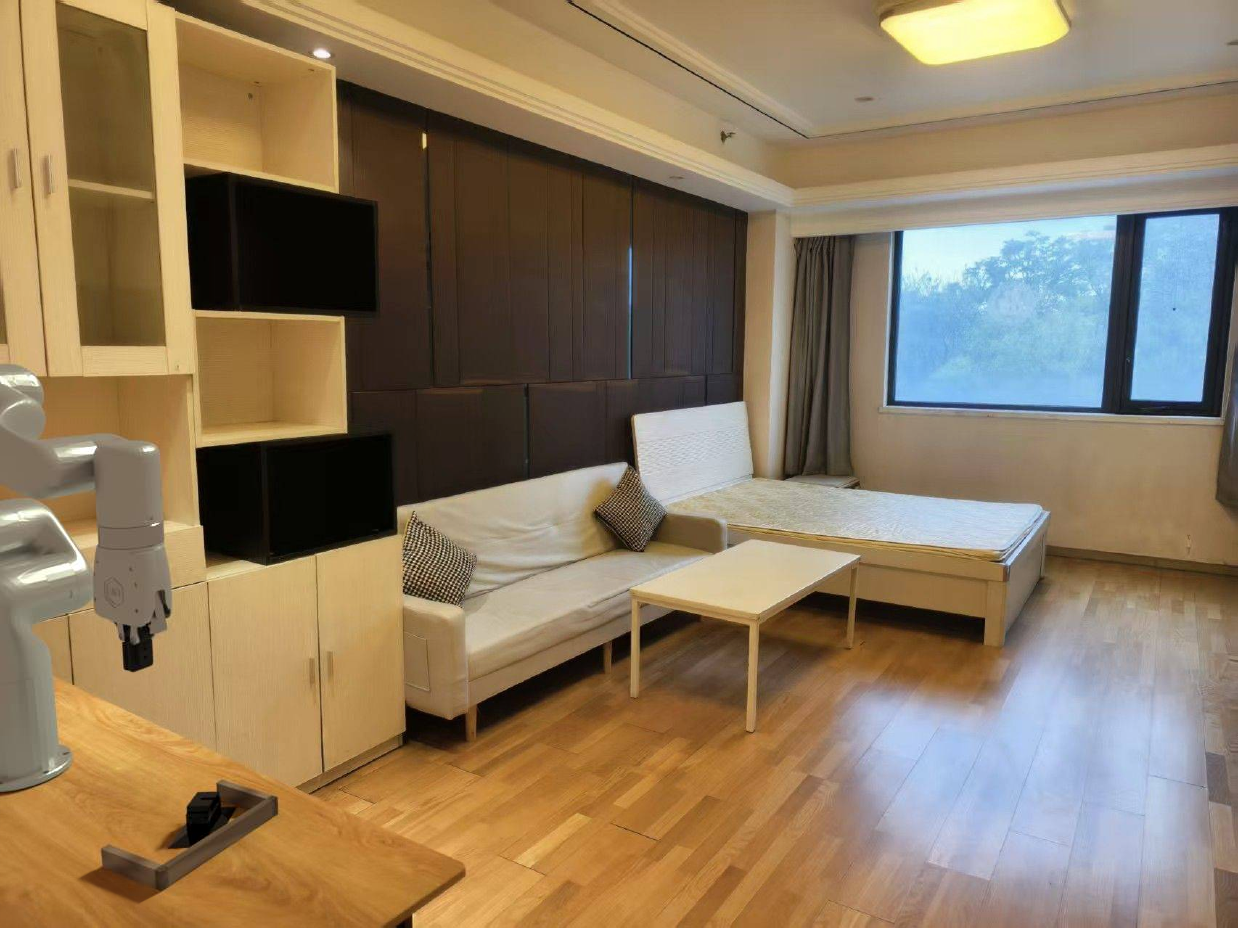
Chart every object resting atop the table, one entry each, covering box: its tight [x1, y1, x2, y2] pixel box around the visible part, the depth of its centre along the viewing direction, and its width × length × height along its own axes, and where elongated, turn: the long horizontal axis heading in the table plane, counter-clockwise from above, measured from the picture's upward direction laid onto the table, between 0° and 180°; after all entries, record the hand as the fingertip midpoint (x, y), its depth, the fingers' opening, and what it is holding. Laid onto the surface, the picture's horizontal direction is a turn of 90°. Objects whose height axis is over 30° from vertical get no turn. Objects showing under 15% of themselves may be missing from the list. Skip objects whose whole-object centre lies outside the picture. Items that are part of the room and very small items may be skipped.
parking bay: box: [100, 779, 279, 892], centre depth 110 cm, size 10×18×2 cm, turn 156°
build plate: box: [167, 790, 238, 850], centre depth 113 cm, size 12×7×5 cm, turn 5°
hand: (138, 667), depth 113 cm, fingers closed
